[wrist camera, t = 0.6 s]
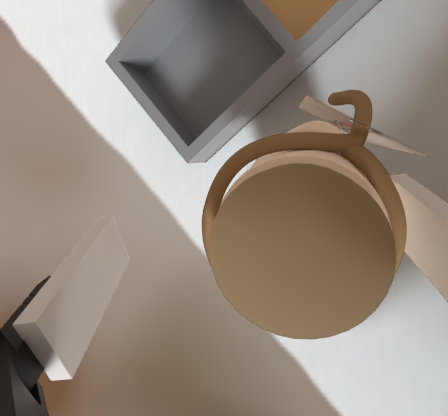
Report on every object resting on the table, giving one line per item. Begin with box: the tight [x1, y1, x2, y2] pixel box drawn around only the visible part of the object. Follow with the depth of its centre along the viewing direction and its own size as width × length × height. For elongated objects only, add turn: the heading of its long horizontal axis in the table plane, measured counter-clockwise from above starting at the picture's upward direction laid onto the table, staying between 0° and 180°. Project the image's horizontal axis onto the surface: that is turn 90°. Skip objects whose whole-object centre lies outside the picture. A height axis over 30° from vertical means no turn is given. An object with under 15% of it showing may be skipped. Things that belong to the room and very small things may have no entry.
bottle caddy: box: [105, 0, 381, 163], centre depth 30 cm, size 14×30×6 cm, turn 131°
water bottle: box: [202, 90, 427, 339], centre depth 21 cm, size 10×9×28 cm
